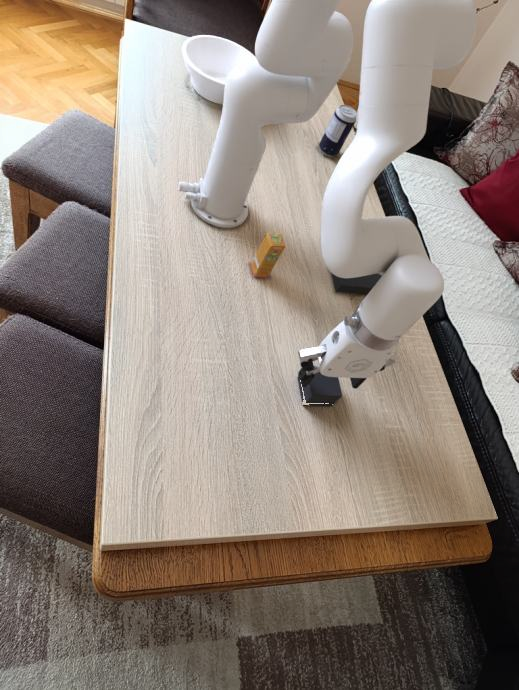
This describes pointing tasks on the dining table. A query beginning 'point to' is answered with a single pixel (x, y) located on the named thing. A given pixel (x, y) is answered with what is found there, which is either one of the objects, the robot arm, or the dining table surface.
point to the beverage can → (338, 130)
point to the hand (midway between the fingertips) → (327, 380)
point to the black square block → (321, 390)
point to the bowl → (212, 63)
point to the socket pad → (355, 284)
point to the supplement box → (267, 255)
